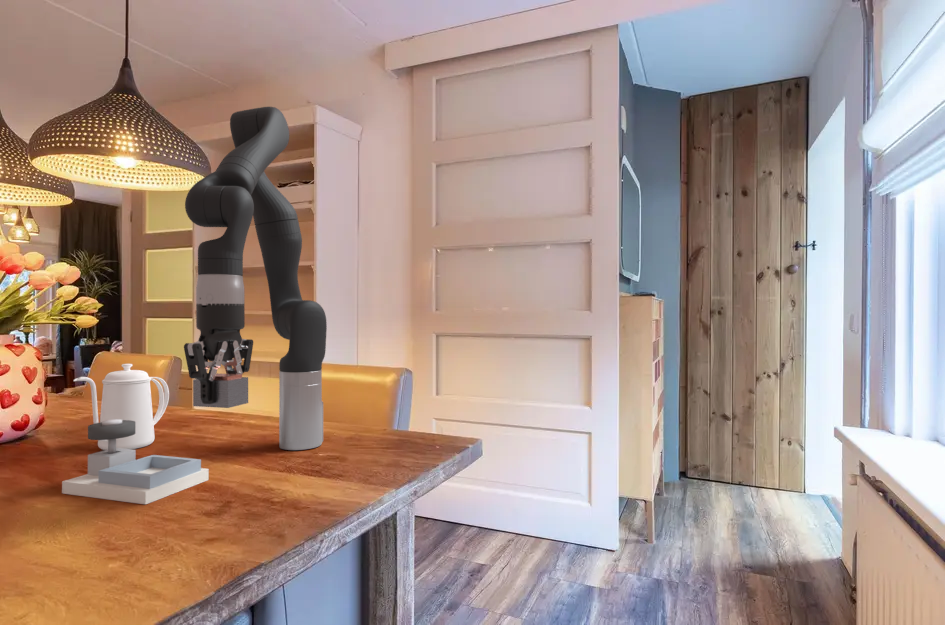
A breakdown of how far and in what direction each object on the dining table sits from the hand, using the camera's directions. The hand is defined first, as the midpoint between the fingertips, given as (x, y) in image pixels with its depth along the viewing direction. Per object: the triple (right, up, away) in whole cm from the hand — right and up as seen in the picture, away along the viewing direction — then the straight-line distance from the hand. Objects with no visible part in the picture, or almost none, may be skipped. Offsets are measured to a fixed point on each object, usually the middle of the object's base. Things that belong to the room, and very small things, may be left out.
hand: (221, 400), depth 91 cm
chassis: (-15, -15, +1) cm, 21 cm away
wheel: (-21, -10, +3) cm, 23 cm away
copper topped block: (0, -1, 0) cm, 1 cm away
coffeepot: (-36, -16, +30) cm, 49 cm away
